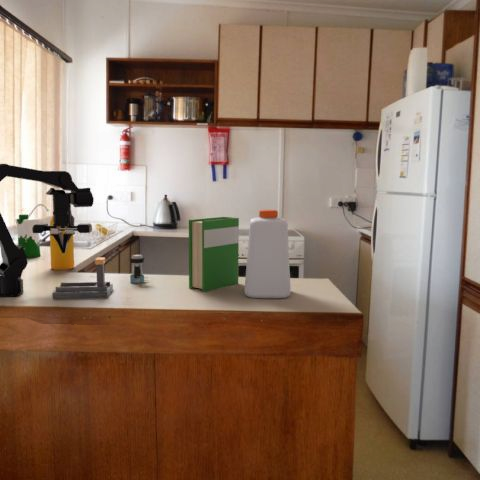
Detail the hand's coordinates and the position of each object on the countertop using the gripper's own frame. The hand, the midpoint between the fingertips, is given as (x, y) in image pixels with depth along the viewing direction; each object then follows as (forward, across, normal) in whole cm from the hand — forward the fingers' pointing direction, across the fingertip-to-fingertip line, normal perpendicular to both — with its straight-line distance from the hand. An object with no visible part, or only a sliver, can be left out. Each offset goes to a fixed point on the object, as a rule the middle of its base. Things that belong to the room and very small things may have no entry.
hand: (63, 253), depth 174 cm
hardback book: (+12, -52, +2) cm, 53 cm away
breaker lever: (+10, -14, +11) cm, 20 cm away
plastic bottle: (+12, -69, +15) cm, 72 cm away
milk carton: (+12, +31, -66) cm, 74 cm away
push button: (+12, -25, -6) cm, 28 cm away
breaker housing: (+12, -8, +11) cm, 18 cm away
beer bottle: (+12, +9, -36) cm, 39 cm away
